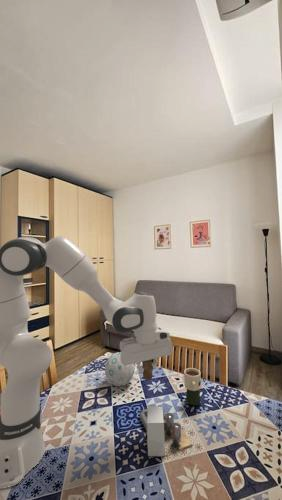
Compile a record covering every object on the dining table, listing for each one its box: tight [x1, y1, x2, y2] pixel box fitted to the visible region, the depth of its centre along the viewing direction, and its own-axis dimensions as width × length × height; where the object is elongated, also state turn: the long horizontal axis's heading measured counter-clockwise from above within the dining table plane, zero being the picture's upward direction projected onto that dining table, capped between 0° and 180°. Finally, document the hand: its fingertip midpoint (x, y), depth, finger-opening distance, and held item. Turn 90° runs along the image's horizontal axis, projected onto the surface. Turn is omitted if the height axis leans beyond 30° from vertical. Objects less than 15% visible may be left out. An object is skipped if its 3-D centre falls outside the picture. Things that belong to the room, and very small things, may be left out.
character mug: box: [183, 367, 202, 406], centre depth 93 cm, size 11×7×13 cm, turn 173°
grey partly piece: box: [139, 404, 167, 432], centre depth 82 cm, size 9×9×2 cm
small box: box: [146, 405, 166, 457], centre depth 72 cm, size 8×6×10 cm
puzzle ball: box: [104, 351, 136, 387], centre depth 108 cm, size 15×15×15 cm
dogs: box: [165, 412, 193, 451], centre depth 75 cm, size 6×10×6 cm, turn 20°
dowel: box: [141, 359, 153, 381], centre depth 81 cm, size 4×4×7 cm
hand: (147, 370), depth 81 cm, fingers closed on dowel, 4 cm apart
